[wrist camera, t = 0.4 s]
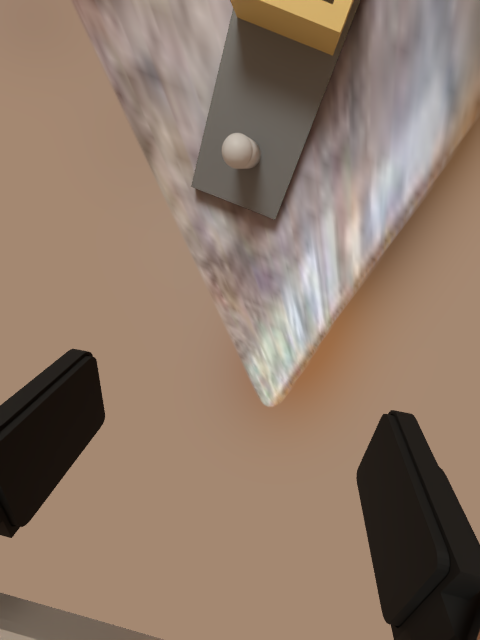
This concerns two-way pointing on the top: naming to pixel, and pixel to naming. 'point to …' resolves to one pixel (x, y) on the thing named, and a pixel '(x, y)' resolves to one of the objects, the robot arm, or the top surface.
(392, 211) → the top surface
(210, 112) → the keeper board
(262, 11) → the tan hollow block
